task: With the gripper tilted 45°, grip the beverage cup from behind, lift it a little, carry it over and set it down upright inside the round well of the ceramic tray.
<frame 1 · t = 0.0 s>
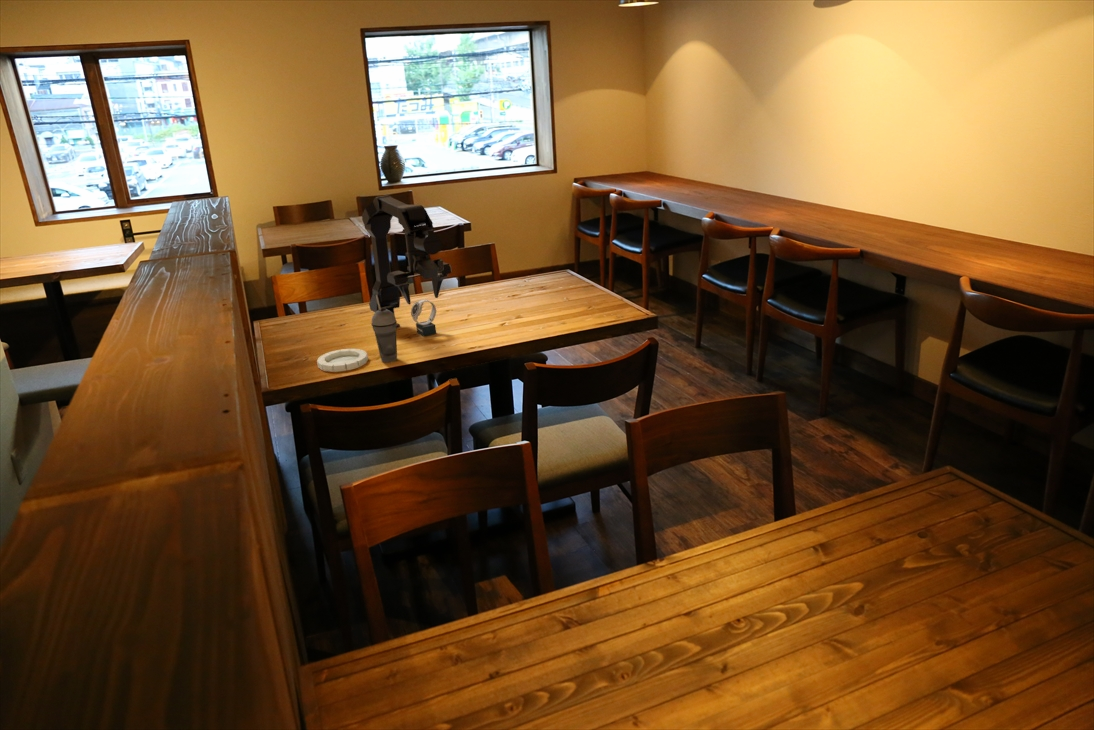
hand: (423, 301, 221), 15 cm above the table, tool pointing down, fingers open, 9 cm apart
beverage cup: (389, 360, 217), on the table
watch: (426, 333, 239), on the table
ring tray: (343, 362, 217), on the table
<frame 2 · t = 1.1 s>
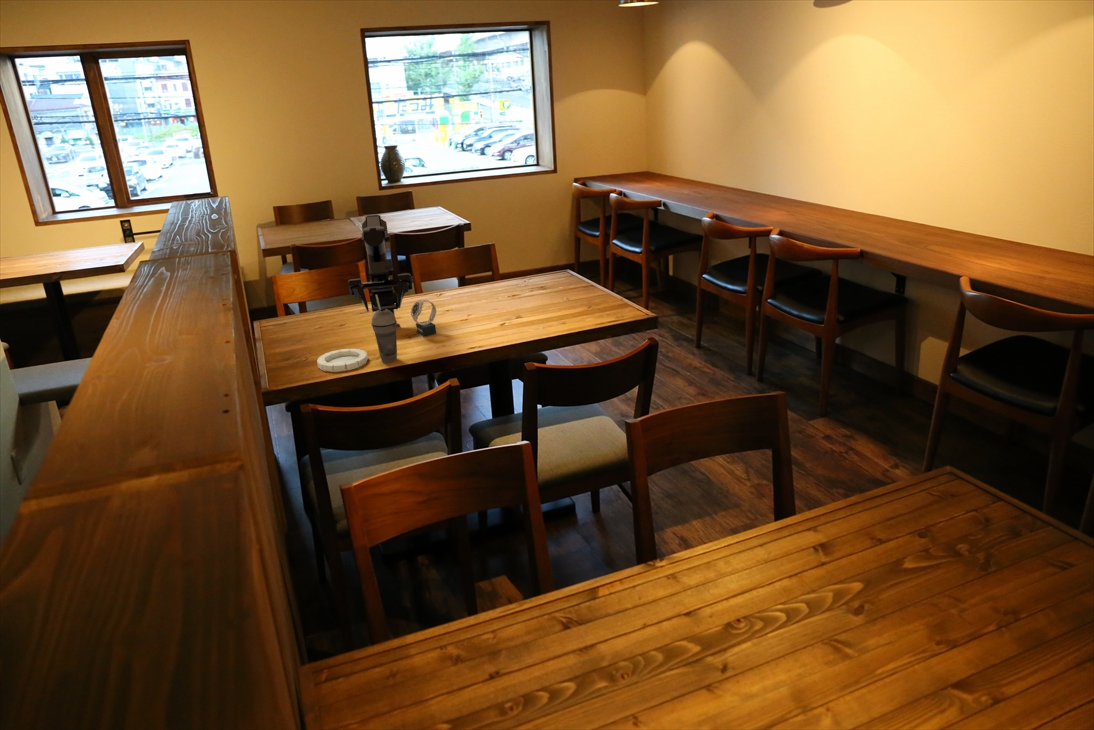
hand: (383, 309, 220), 13 cm above the table, tool tilted 45°, fingers open, 9 cm apart
nothing on the table moved.
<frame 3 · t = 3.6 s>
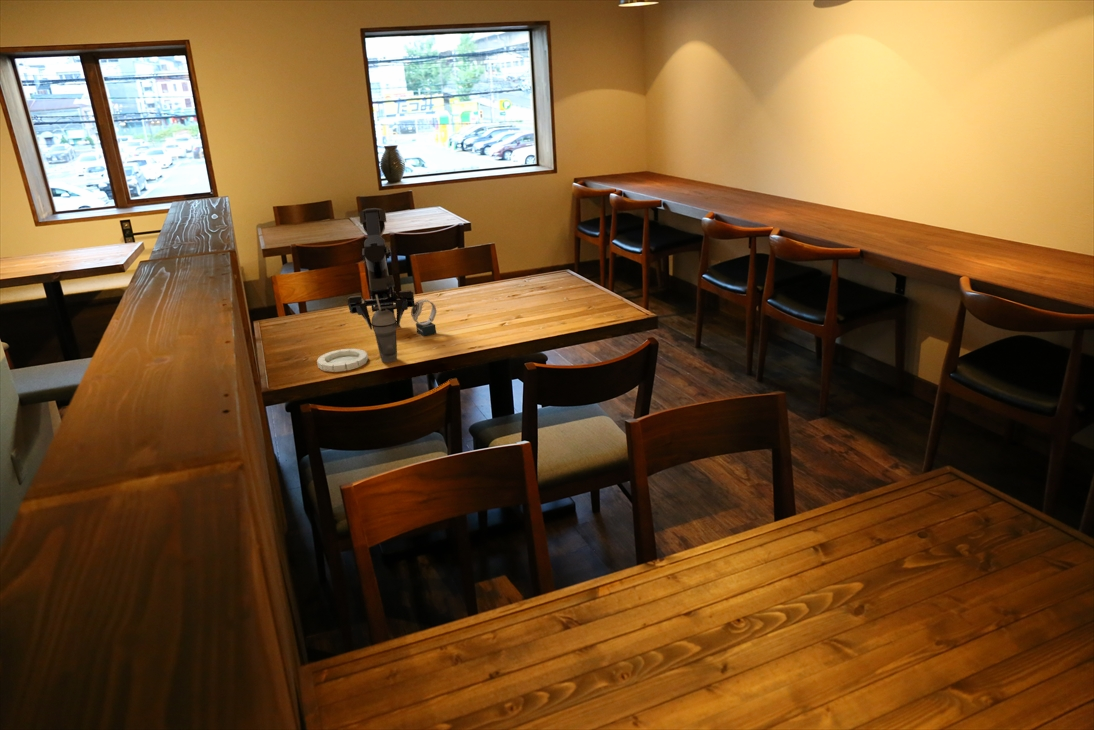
hand: (384, 327, 212), 11 cm above the table, tool tilted 45°, fingers closed on beverage cup, 7 cm apart
beverage cup: (389, 360, 217), on the table, touching gripper
everything else where it was.
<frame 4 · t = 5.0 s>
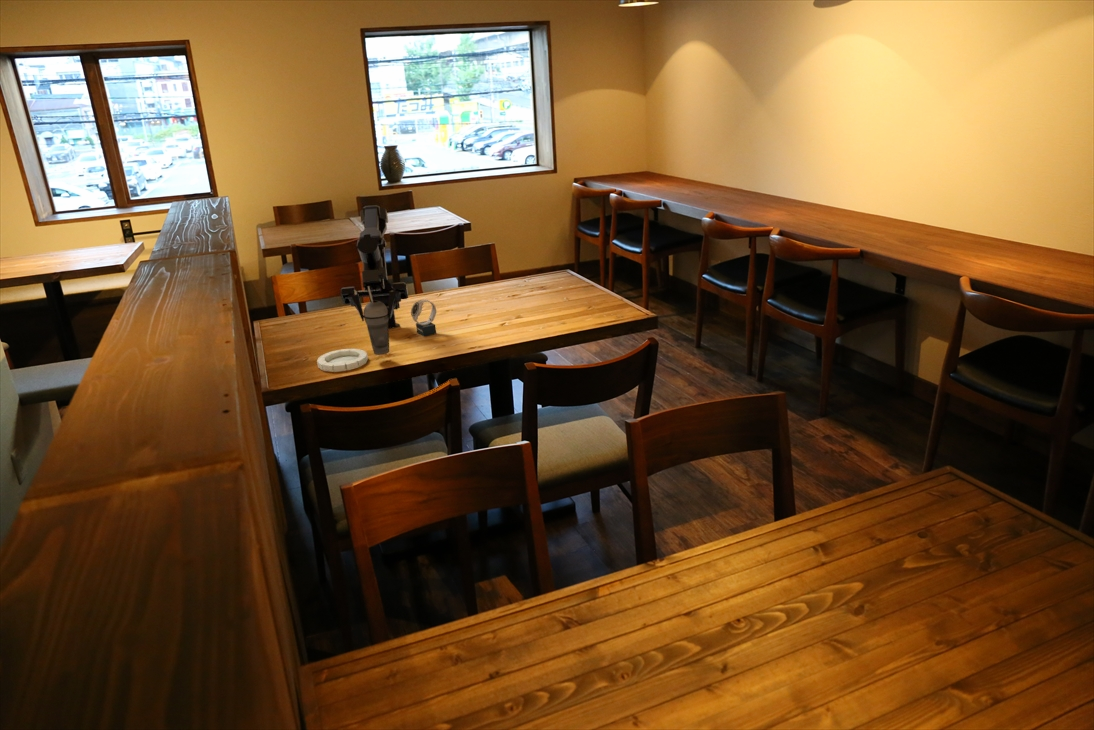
hand: (376, 319, 211), 13 cm above the table, tool tilted 45°, fingers closed on beverage cup, 7 cm apart
beverage cup: (381, 352, 216), point 2 cm above the table, touching gripper
everything else where it was.
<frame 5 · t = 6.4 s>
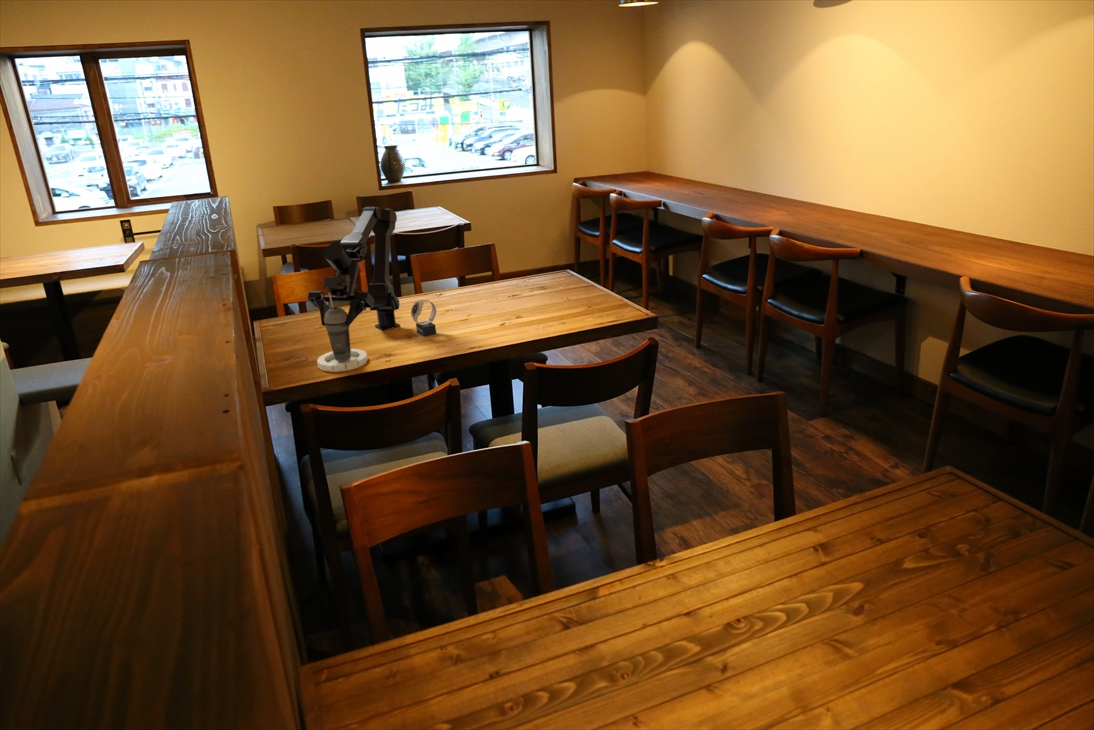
hand: (335, 325, 212), 12 cm above the table, tool tilted 45°, fingers closed on beverage cup, 7 cm apart
beverage cup: (343, 358, 217), point 1 cm above the table, touching gripper
everything else where it was.
when the fingers open (12 cm above the table, at t = 6.9 s): beverage cup stays where it is, resting on ring tray.
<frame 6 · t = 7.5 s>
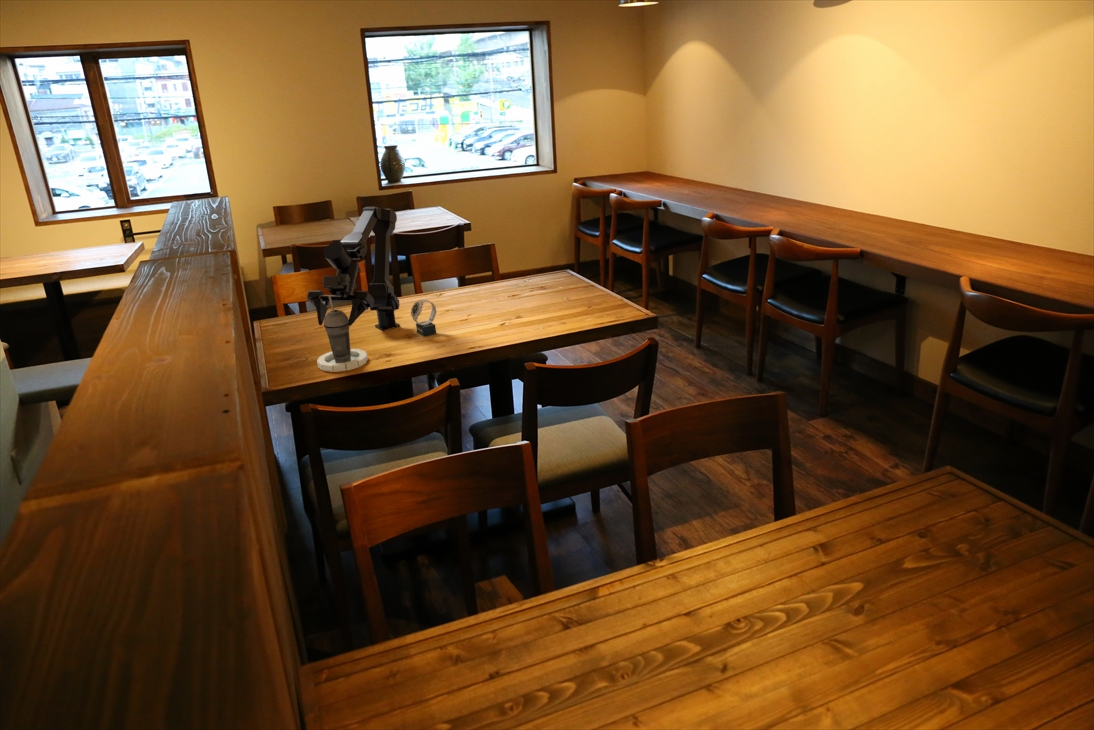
hand: (334, 325, 212), 12 cm above the table, tool tilted 45°, fingers open, 9 cm apart
beverage cup: (343, 361, 217), resting on ring tray
everything else where it was.
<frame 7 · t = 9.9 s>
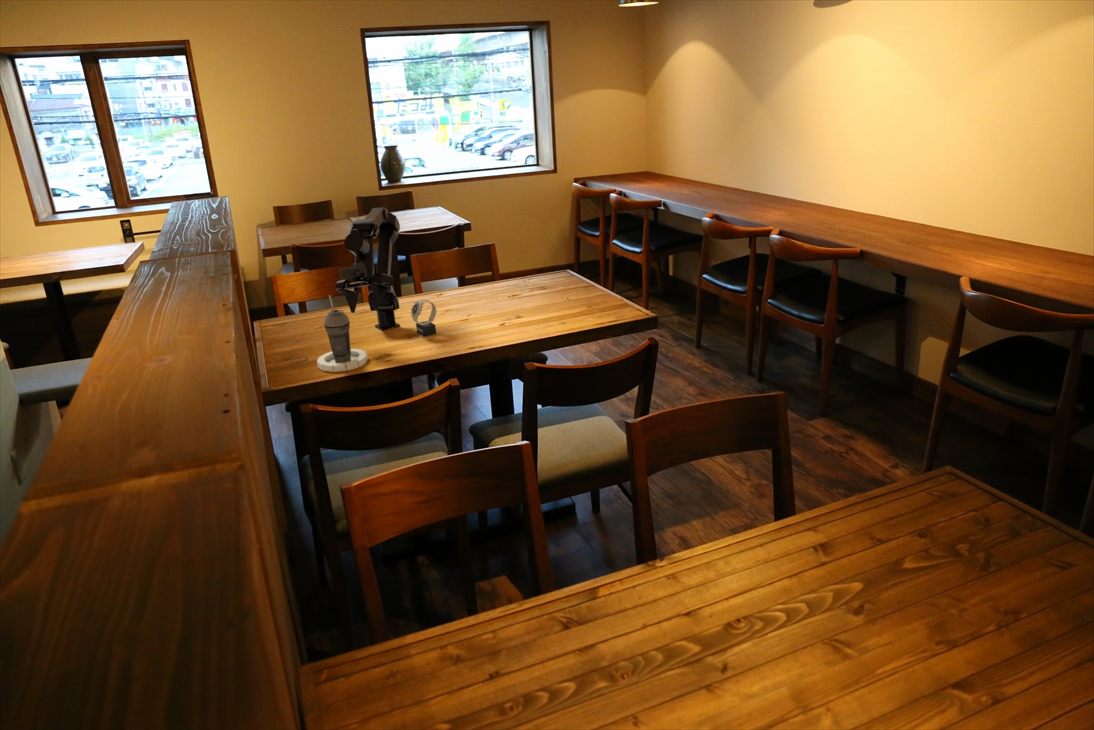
hand: (364, 311, 223), 12 cm above the table, tool tilted 30°, fingers open, 9 cm apart
nothing on the table moved.
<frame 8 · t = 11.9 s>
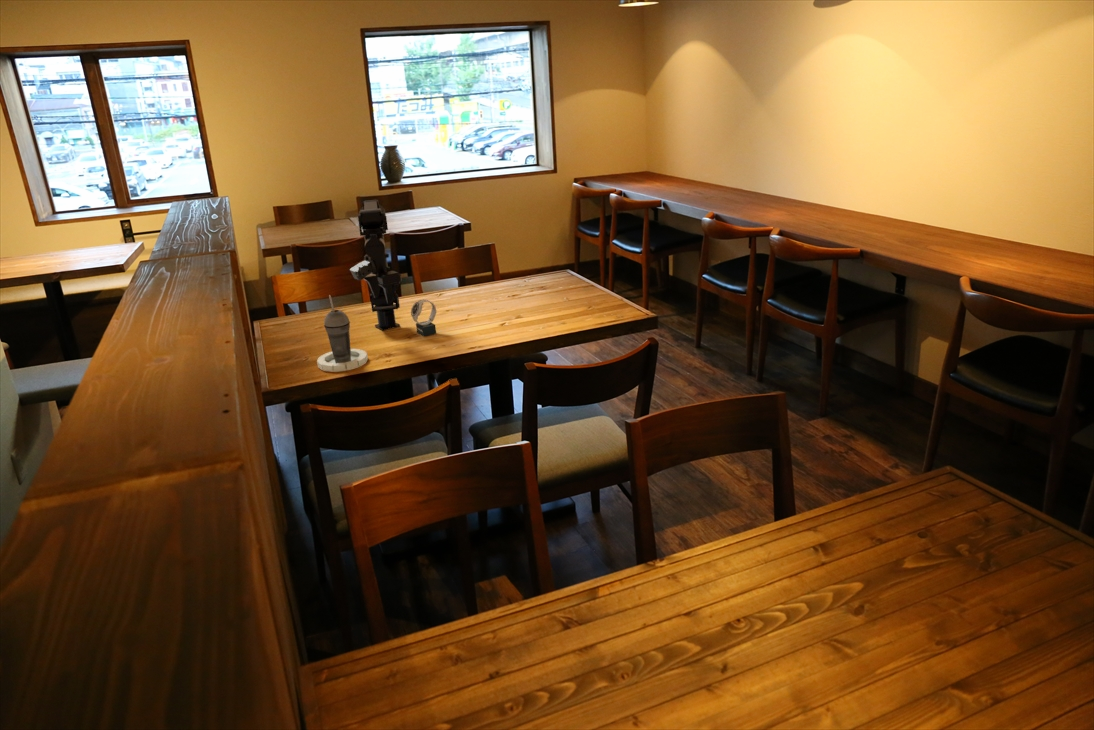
hand: (382, 300, 230), 13 cm above the table, tool pointing down, fingers open, 9 cm apart
nothing on the table moved.
at the end: beverage cup 0.2 cm off-centre on the ring tray, point 0.2 cm above the ring tray's base; beverage cup tilted 0°; the gripper is holding nothing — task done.
